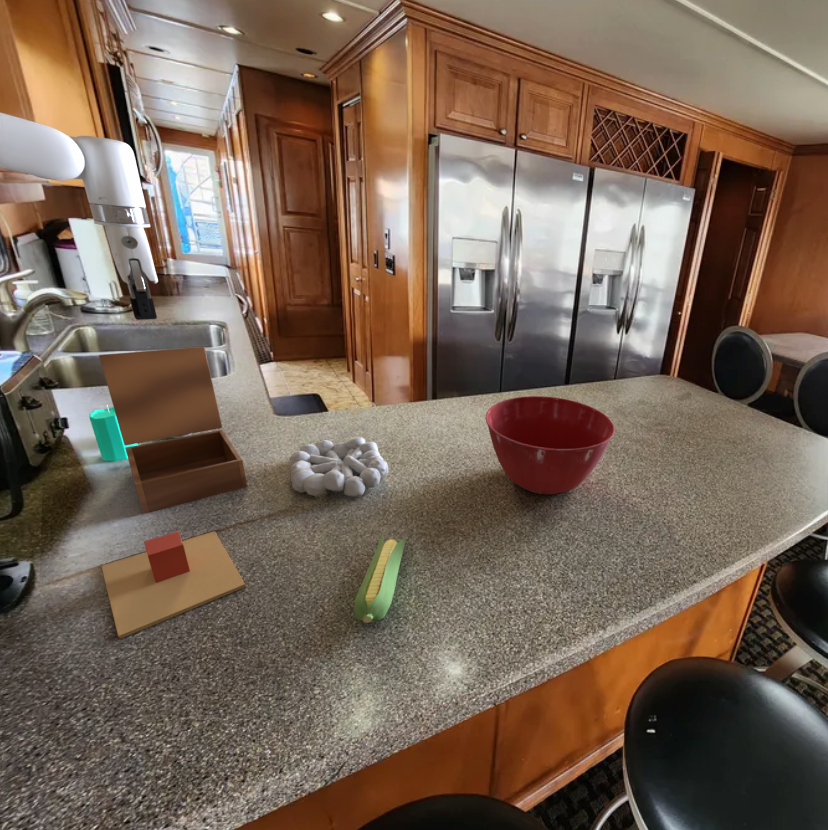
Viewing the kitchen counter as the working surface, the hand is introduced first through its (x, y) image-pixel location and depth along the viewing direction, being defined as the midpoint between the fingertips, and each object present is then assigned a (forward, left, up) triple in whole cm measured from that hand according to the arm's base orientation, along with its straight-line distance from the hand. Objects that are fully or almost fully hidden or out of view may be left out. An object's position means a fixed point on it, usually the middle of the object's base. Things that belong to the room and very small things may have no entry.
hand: (146, 318), depth 89 cm
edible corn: (+63, -17, -30) cm, 72 cm away
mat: (+33, -27, -30) cm, 52 cm away
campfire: (+36, +6, -30) cm, 47 cm away
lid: (+5, -3, -14) cm, 15 cm away
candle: (-8, -6, -30) cm, 32 cm away
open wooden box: (+13, -8, -30) cm, 33 cm away
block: (+33, -27, -29) cm, 52 cm away
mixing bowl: (+77, +24, -30) cm, 86 cm away
